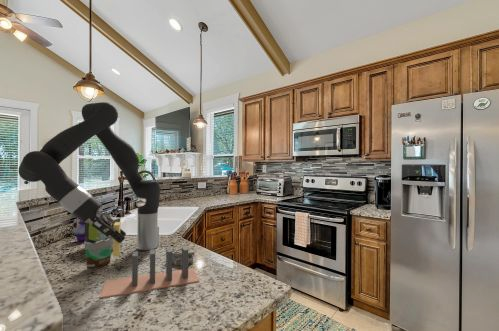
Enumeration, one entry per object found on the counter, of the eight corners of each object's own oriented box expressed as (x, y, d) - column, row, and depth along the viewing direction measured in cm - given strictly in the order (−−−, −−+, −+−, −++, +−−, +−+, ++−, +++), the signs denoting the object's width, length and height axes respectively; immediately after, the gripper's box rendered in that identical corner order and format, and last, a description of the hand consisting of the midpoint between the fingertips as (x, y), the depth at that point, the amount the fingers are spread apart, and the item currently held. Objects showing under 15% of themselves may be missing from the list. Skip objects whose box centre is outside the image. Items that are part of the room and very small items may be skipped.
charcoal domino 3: (167, 281, 87) (167, 252, 87) (166, 275, 92) (166, 248, 92) (172, 280, 88) (172, 251, 88) (170, 275, 92) (170, 247, 92)
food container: (97, 271, 96) (97, 245, 96) (83, 270, 97) (84, 244, 97) (120, 260, 108) (120, 236, 108) (107, 258, 109) (108, 235, 109)
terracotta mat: (99, 298, 76) (99, 297, 76) (105, 281, 87) (105, 280, 87) (199, 281, 88) (199, 280, 88) (193, 268, 99) (193, 267, 99)
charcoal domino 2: (150, 284, 85) (150, 254, 85) (149, 278, 89) (150, 249, 90) (155, 283, 85) (155, 253, 86) (154, 277, 90) (154, 249, 90)
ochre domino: (112, 256, 81) (113, 225, 81) (114, 252, 85) (115, 222, 85) (118, 256, 81) (119, 225, 81) (120, 251, 86) (120, 221, 86)
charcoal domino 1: (132, 287, 83) (132, 256, 83) (132, 280, 87) (132, 251, 87) (137, 286, 83) (137, 255, 83) (137, 279, 88) (137, 251, 88)
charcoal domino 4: (183, 278, 89) (183, 250, 89) (181, 273, 94) (181, 246, 94) (188, 278, 90) (188, 249, 90) (186, 272, 94) (186, 245, 94)
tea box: (120, 248, 124) (121, 217, 124) (99, 253, 116) (100, 221, 116) (104, 243, 132) (104, 214, 133) (83, 248, 124) (84, 217, 124)
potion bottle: (75, 239, 138) (75, 217, 138) (93, 238, 141) (93, 216, 141) (71, 244, 130) (71, 220, 130) (91, 242, 133) (91, 219, 133)
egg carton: (195, 262, 107) (196, 252, 107) (184, 268, 100) (184, 258, 100) (176, 258, 111) (176, 248, 111) (163, 263, 105) (163, 253, 105)
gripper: (86, 197, 74) (131, 234, 78) (95, 193, 87) (133, 225, 92) (64, 216, 72) (111, 254, 76) (76, 209, 85) (116, 241, 90)
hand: (123, 238), depth 84 cm, fingers closed on ochre domino, 5 cm apart
